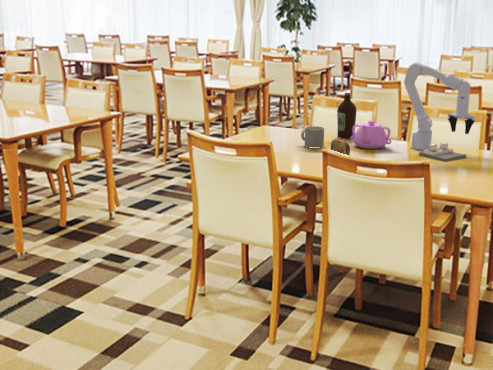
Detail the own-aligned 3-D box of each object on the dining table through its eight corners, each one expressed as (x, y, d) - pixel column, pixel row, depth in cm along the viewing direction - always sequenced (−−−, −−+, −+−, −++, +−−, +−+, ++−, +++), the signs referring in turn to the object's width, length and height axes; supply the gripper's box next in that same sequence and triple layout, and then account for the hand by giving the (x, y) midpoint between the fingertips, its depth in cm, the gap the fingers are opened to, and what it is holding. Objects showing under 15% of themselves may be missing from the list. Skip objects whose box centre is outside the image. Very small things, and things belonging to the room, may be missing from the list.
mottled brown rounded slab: (330, 154, 304) (330, 137, 302) (335, 153, 305) (336, 137, 303) (345, 160, 290) (345, 143, 288) (350, 160, 292) (351, 143, 289)
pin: (427, 153, 299) (427, 144, 298) (432, 152, 301) (432, 143, 299) (432, 154, 296) (433, 145, 295) (438, 153, 298) (438, 144, 296)
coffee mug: (327, 147, 320) (328, 128, 318) (313, 149, 315) (313, 130, 312) (310, 143, 331) (311, 124, 328) (296, 145, 326) (296, 126, 323)
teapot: (342, 149, 314) (343, 123, 310) (355, 142, 333) (356, 116, 329) (384, 153, 304) (385, 126, 300) (395, 145, 323) (396, 119, 319)
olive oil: (347, 134, 353) (349, 91, 346) (359, 137, 344) (361, 93, 337) (332, 136, 348) (334, 92, 341) (344, 139, 339) (345, 94, 332)
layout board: (418, 155, 300) (419, 144, 299) (439, 151, 308) (440, 141, 307) (445, 161, 288) (446, 150, 286) (466, 157, 296) (467, 146, 294)
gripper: (445, 104, 306) (442, 131, 309) (471, 108, 295) (468, 135, 298) (453, 103, 310) (451, 130, 314) (479, 106, 299) (476, 134, 303)
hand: (460, 132), depth 306 cm, fingers open, 7 cm apart
